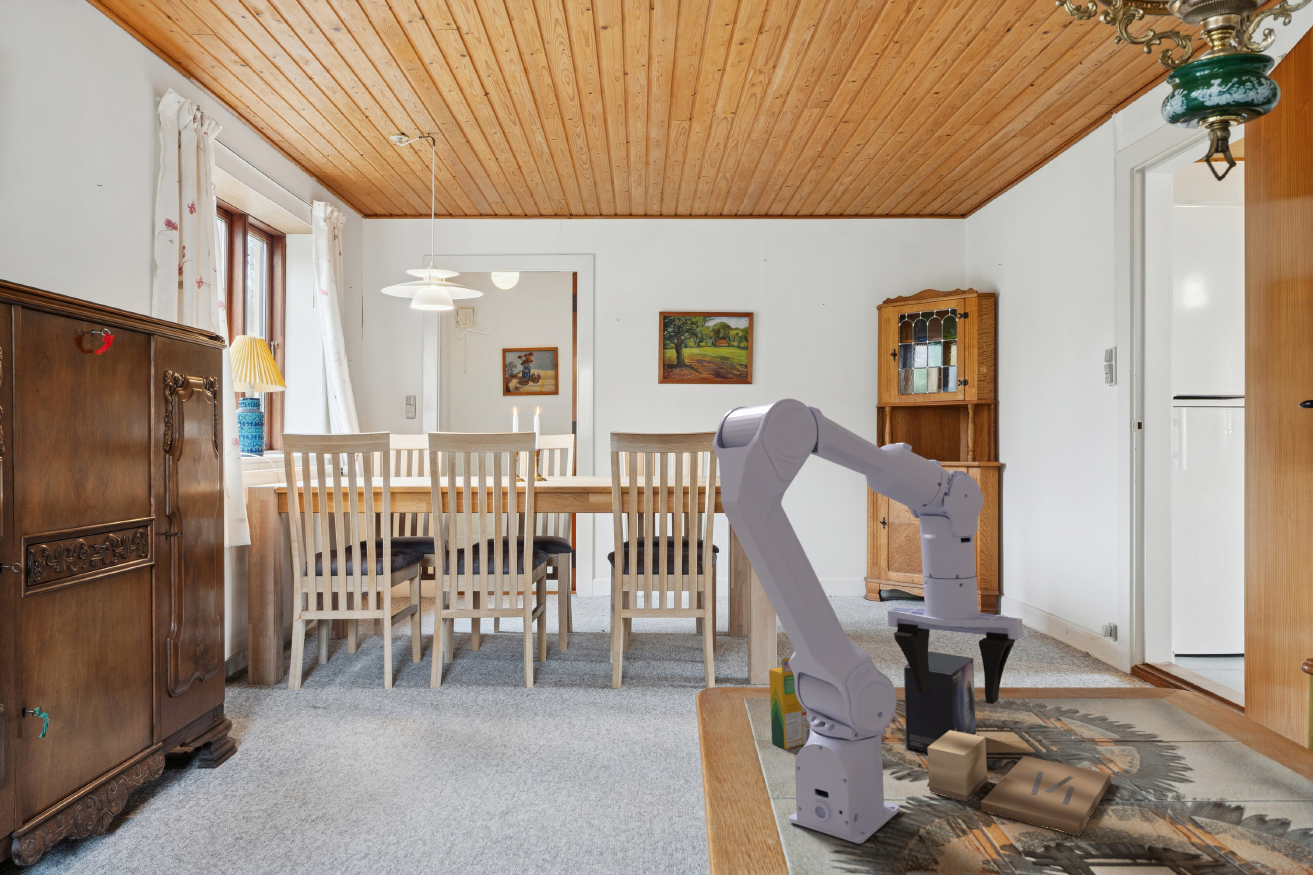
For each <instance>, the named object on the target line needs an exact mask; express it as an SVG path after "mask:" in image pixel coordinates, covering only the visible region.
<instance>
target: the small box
mask: <svg viewBox="0 0 1313 875" xmlns="http://www.w3.org/2000/svg"><path fill="white" fill-rule="evenodd" d="M928 664H929V675H930V689H928V690H927V691H926V692H924V693H919V692H917V687H916V684H915V680H914V677H913V674H912V671H911V669H910V666H909V664H908V663H907V664H906V665H904V666H903V681H904V683H903V685H904V688H903V689H904V707H905V708H904V709H905V710H904V712H905V713H904V715H905V716H904V717H905V718H904V719H905V722H904V723H905V735H904V736H905V745H904V746H905V748H906V749H912V750H916V749H917V751H921V752H926V753H928V748H927V747H929V746H930V745H931V744H933V743H934V742H935V741H936V740H938V739H939V738H940V737H942V736H943V735H944V734H946V733H947V732H948V731H949V730H952V731H957V732H962V733H967V734H972V735H975V734H976V735H977V726H976V725H977V724H976V701H975V700H976V699H975V694H976V693H975V674H974V673H975V671H974V667H975V666H974V665H975V664H974V658H973V657H971V656H970V657H969V656H963V655H956V654H951V653H950V654H949V653H948V654H947V653H943V652H938V651H937V652H936V651H931V650H930V651H929V650H928Z"/></svg>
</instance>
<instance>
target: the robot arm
mask: <svg viewBox="0 0 1313 875" xmlns="http://www.w3.org/2000/svg"><path fill="white" fill-rule="evenodd" d="M711 447H712V449H713V451H714V453H715V455H716V457H717V459H718V465H719V466H718V468H719V469H718V470H719V482H720V500H721V508H722V510H723V512H724V515H725V517H726V518H727V520H728V523H729V524H730V526H731V528H732V531H733V532H734V533H735V536H736V538H737V540H738V542H739V544H740V545H741V548H742V549H743V551H744V553H745V556H746V558H747V560H748V561H749V564H750V565H751V567H752V569H753V571H754V573H755V576H756V577H757V579H758V580H759V583H760V585H761V586H762V589H763V591H764V593H765V594H766V597H767V598H768V601H769V602H770V604H771V607H772V608H773V610H774V612H775V615H776V616H777V618H778V621H780V624H781V626H782V628H783V630H784V632H785V633H786V635H787V638H788V639H789V641H790V642H789V643H790V644H791V646H792V648H793V649H794V652H793V653H792V655H791V656H790V657H791V658H790V657H789V658H790V660H789V666H790V668H791V670H792V672H793V675H794V680H795V692H796V696H797V699H798V701H799V703H800V704H801V705H802V706H803V707H804V708H805V709H807V720H808V721H809V722H810V735H809V739H808V741H807V743H806V744H804V745H803V747H801V748H800V750H799V752H798V753H797V755H796V758H795V762H794V763H795V764H794V773H795V774H794V775H795V778H794V779H795V801H796V803H795V804H796V805H795V806H796V807H795V808H796V811H795V812H793V813H792V814H791V815H789V817H788V819H789V820H788V821H789V822H790V823H792V824H795V825H799V826H802V827H804V828H808V829H811V830H814V831H816V832H817V831H818V832H820V833H824V834H825V835H830V836H833V837H836V838H839V839H841V840H842V839H843V840H845V841H848V842H852V843H854V844H857V845H858V844H859V845H860V844H863V843H864V842H866V841H867V840H868V839H869V838H870V837H871V836H872V835H873V834H874V833H875V832H877V831H878V830H880V828H882V827H883V826H884V825H885V824H886V823H887V822H888V821H890V820H891V819H892V818H893V817H894V816H896V815H897V814H898V813H899V812H900V809H901V808H900V806H899V805H898V804H896V803H891V802H888V801H885V798H884V795H885V794H884V789H885V788H884V769H883V768H884V766H883V743H882V742H883V741H882V735H885V734H886V733H887V732H886V729H887V728H888V727H889V725H890V724H891V722H892V720H893V718H894V716H895V713H896V709H897V699H898V698H897V692H896V688H895V685H894V683H893V682H892V681H891V678H890V677H888V675H886V674H885V673H883V672H882V671H880V670H879V669H878V668H877V666H876V665H875V663H874V661H873V659H872V657H871V656H870V654H868V653H867V652H866V651H865V650H864V649H863V648H862V647H861V646H859V645H858V644H857V643H856V642H854V640H852V639H851V638H850V637H848V635H847V634H846V633H845V630H844V629H843V626H842V624H841V622H840V621H839V618H838V616H837V614H836V612H835V610H834V608H833V606H832V604H831V602H830V600H829V598H828V596H827V594H826V591H825V590H824V588H823V586H822V583H821V582H820V580H819V578H818V576H817V574H816V572H815V570H814V568H813V566H812V563H811V561H810V559H809V558H808V556H807V553H806V552H805V550H804V547H803V546H802V544H801V541H800V539H799V537H798V535H797V534H796V531H795V529H794V527H793V526H792V523H791V522H790V519H789V517H788V516H787V514H786V511H785V509H784V507H783V505H782V501H783V498H784V496H785V493H786V491H788V488H789V487H790V485H791V484H792V483H793V481H794V479H795V478H796V476H797V475H798V474H799V472H800V471H801V469H802V467H803V466H804V465H805V463H806V462H807V460H808V458H809V457H810V455H813V456H816V457H818V458H821V459H824V460H826V461H828V462H831V463H834V464H836V465H839V466H841V467H843V468H846V469H849V470H852V472H853V471H854V472H856V473H858V474H860V475H864V476H865V480H866V483H867V486H868V487H869V489H870V490H871V491H873V492H875V493H876V494H877V493H878V494H879V495H881V496H884V497H886V498H888V499H891V500H893V501H895V502H896V503H899V504H901V505H904V506H906V507H907V509H908V510H909V512H910V514H911V515H912V516H913V517H914V518H915V519H919V533H920V548H921V565H922V579H923V580H922V581H923V582H922V583H923V596H924V608H909V607H908V608H905V607H904V608H903V607H892V608H890V609H888V610H887V621H888V622H887V623H888V624H887V625H888V627H890V628H891V627H892V628H897V629H896V631H895V632H894V633H893V637H894V641H895V642H896V643H897V645H898V647H899V648H900V650H901V652H902V653H903V655H904V657H905V659H906V661H907V664H909V666H910V669H911V671H912V674H913V677H914V680H915V684H916V687H917V692H919V693H924V692H926V691H927V690H928V689H930V675H929V664H928V652H929V641H930V632H931V631H930V630H935V631H943V632H945V631H946V632H953V633H962V634H973V635H984V636H985V637H984V638H981V639H980V640H979V641H978V646H979V651H980V655H981V660H982V661H981V662H982V667H983V675H984V697H985V703H986V704H991V705H994V704H995V703H996V702H997V701H999V693H1000V686H1001V681H1002V676H1003V673H1004V669H1005V666H1006V663H1007V661H1008V658H1009V655H1010V653H1011V651H1012V649H1013V647H1014V645H1015V642H1016V640H1017V641H1018V640H1020V639H1021V638H1023V637H1024V626H1023V625H1024V624H1023V618H1019V617H1009V616H1004V615H999V614H992V613H986V612H980V609H979V596H978V594H979V593H978V584H977V583H978V580H977V567H976V550H975V537H974V536H976V535H977V531H979V525H978V521H979V519H978V518H979V516H980V513H982V512H981V511H982V509H983V506H984V501H985V498H984V497H985V495H984V493H981V488H980V486H979V483H978V482H977V480H976V479H975V478H974V477H972V475H970V474H969V473H968V472H965V471H963V470H947V469H946V468H945V467H943V466H942V462H940V461H939V460H936V459H928V458H925V457H923V456H921V455H919V454H917V453H915V452H913V451H912V448H913V447H912V445H911V444H908V443H906V442H896V443H889V444H886V445H883V446H881V447H879V446H878V445H876V444H874V443H872V442H870V441H869V440H867V439H865V438H864V437H861V436H860V435H858V434H857V433H855V432H853V431H851V430H850V429H847V428H846V427H844V426H842V425H841V424H839V423H837V422H835V421H833V420H832V419H831V418H828V417H826V416H825V415H824V413H823V412H822V411H821V409H819V408H816V407H814V406H810V405H806V404H805V403H804V402H802V401H800V400H798V399H795V398H783V399H779V400H777V401H775V402H774V401H772V402H769V403H768V402H767V403H763V404H757V405H752V406H751V405H750V406H738V407H733V408H732V409H730V410H728V411H727V412H726V413H725V414H724V416H723V417H722V418H721V420H720V421H719V425H718V427H717V430H716V433H715V435H714V438H713V441H712V443H711Z"/></svg>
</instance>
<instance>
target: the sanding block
mask: <svg viewBox="0 0 1313 875" xmlns="http://www.w3.org/2000/svg"><path fill="white" fill-rule="evenodd" d="M927 748H928V752H927V764H928V766H927V768H928V785H929V786H928V787H929V788H928V789H929V790H928V791H931V792H934V793H938V794H942V795H946V796H950V797H954V798H958V799H960V800H959V801H961V800H963V801H962V802H965V801H967V800H968V799H969V798H970V797H971V796H972V795H973V794H974V793H975V792H976V791H977V790H978V789H979V788H980V787H981V786H982V785H983V784H984V783H985V782H986V781H987V782H988V767H987V766H988V764H987V745H986V736H981V735H977V734H976V735H972V734H967V733H962V732H957V731H952V730H949V731H948V732H947V733H946V734H944V735H943V736H942V737H940V738H939V739H938V740H936V741H935V742H934V743H933V744H931V745H930V746H929V747H927ZM987 782H986V783H987ZM986 783H985V784H986ZM985 784H984V785H985ZM984 785H983V786H984ZM983 786H982V787H983ZM982 787H981V788H982ZM981 788H980V789H981ZM980 789H979V790H980ZM979 790H978V791H979ZM978 791H977V792H978ZM977 792H976V793H977ZM934 793H933V794H934ZM976 793H975V794H976ZM938 794H937V795H938ZM975 794H974V795H975ZM974 795H973V796H974ZM973 796H972V797H973ZM972 797H971V798H972ZM971 798H970V799H971ZM970 799H969V800H970ZM969 800H968V801H969ZM968 801H967V802H968Z"/></svg>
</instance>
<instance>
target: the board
mask: <svg viewBox="0 0 1313 875" xmlns="http://www.w3.org/2000/svg"><path fill="white" fill-rule="evenodd" d="M1111 778H1112V777H1111V773H1109V772H1105V771H1100V770H1096V769H1095V770H1094V769H1090V768H1085V767H1081V766H1075V765H1070V764H1067V763H1061V762H1056V761H1051V760H1046V759H1041V758H1037V757H1031V756H1027V755H1023V756H1022V757H1021V759H1020V760H1018V762H1017V763H1016V764H1015V765H1014V766H1013V767H1012V768H1011V769H1010V770H1009V771H1008V772H1007V773H1006V774H1005V775H1004V777H1002V779H1000V781H999V782H998V783H997V784H996V785H995V786H994V787H993V788H992V789H991V790H990V791H989V792H988V794H987V795H986V796H985V797H983V799H982V800H981V802H980V806H981V807H980V808H981V812H982V811H986V812H990V813H994V814H997V815H1001V816H1005V817H1008V818H1007V819H1009V818H1013V819H1016V820H1015V821H1017V820H1019V821H1018V822H1020V821H1022V823H1024V822H1026V823H1025V824H1028V823H1031V824H1030V825H1032V824H1034V825H1033V826H1036V825H1038V826H1037V827H1040V826H1044V827H1048V828H1051V829H1052V828H1053V829H1058V830H1061V831H1064V832H1067V833H1071V834H1075V835H1078V836H1079V834H1080V833H1081V834H1082V832H1083V830H1084V829H1085V827H1086V825H1087V824H1086V822H1087V820H1088V818H1089V817H1090V815H1091V813H1092V812H1093V810H1094V809H1095V807H1096V805H1097V804H1098V805H1099V803H1100V802H1101V800H1102V799H1103V797H1104V795H1105V793H1106V792H1107V790H1108V789H1109V786H1110V785H1111V783H1112V782H1111V781H1112V779H1111ZM1099 801H1100V802H1099ZM1098 805H1097V806H1098ZM1096 808H1097V807H1096ZM1095 810H1096V809H1095ZM1095 810H1094V811H1095ZM986 812H985V813H986ZM990 813H989V814H990ZM1093 813H1094V812H1093ZM997 815H996V816H997ZM1001 816H1000V817H1001ZM1091 816H1092V815H1091ZM1005 817H1004V818H1005ZM1090 818H1091V817H1090ZM1013 819H1012V820H1013ZM1088 821H1089V820H1088ZM1087 823H1088V822H1087ZM1085 824H1086V825H1085ZM1084 826H1085V827H1084ZM1044 827H1043V828H1044ZM1083 828H1084V829H1083ZM1051 829H1050V830H1051ZM1082 829H1083V830H1082ZM1081 831H1082V832H1081ZM1067 833H1066V834H1067ZM1071 834H1070V835H1071ZM1081 834H1080V835H1081ZM1075 835H1074V836H1075ZM1078 836H1077V837H1078ZM1079 837H1080V836H1079Z"/></svg>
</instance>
